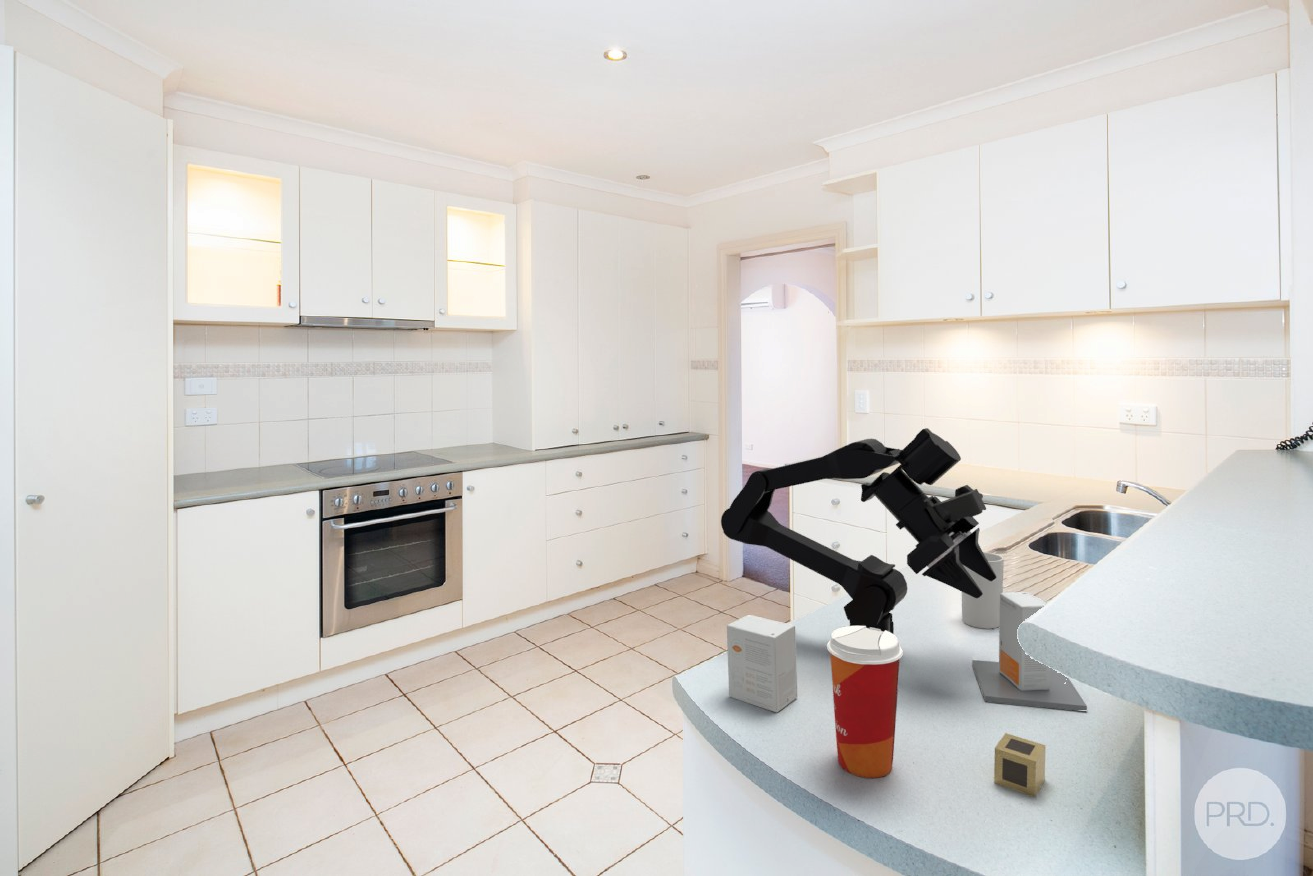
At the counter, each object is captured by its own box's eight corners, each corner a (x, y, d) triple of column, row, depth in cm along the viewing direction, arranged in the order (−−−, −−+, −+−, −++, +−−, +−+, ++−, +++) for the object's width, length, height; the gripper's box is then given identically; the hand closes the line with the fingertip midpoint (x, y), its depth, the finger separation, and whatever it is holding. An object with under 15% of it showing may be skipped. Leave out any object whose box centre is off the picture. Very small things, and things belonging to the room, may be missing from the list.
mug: (1006, 631, 115) (1006, 562, 114) (963, 628, 117) (963, 560, 116) (996, 611, 125) (996, 548, 124) (956, 608, 127) (957, 546, 126)
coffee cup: (845, 736, 83) (844, 618, 82) (913, 758, 78) (913, 633, 77) (815, 768, 77) (813, 640, 76) (886, 794, 72) (886, 658, 70)
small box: (798, 698, 93) (797, 625, 93) (776, 714, 89) (775, 637, 88) (750, 682, 99) (748, 613, 98) (727, 697, 95) (726, 624, 94)
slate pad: (1086, 712, 87) (1086, 706, 87) (985, 701, 91) (985, 695, 91) (1061, 672, 99) (1061, 667, 99) (972, 665, 102) (972, 659, 102)
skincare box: (997, 672, 98) (998, 592, 97) (1026, 671, 98) (1028, 591, 97) (1020, 692, 92) (1021, 606, 91) (1051, 690, 92) (1053, 605, 91)
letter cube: (1035, 798, 70) (1036, 761, 70) (994, 783, 73) (994, 748, 73) (1044, 780, 73) (1045, 745, 73) (1004, 766, 76) (1005, 733, 76)
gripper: (931, 478, 91) (1021, 570, 85) (964, 462, 106) (1043, 540, 100) (873, 529, 97) (954, 619, 91) (913, 507, 111) (985, 583, 106)
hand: (987, 587), depth 97 cm, fingers open, 9 cm apart
